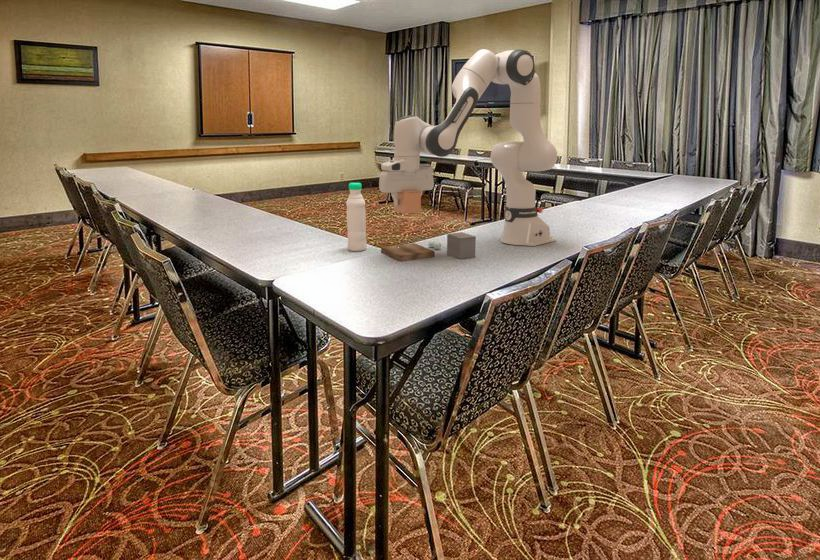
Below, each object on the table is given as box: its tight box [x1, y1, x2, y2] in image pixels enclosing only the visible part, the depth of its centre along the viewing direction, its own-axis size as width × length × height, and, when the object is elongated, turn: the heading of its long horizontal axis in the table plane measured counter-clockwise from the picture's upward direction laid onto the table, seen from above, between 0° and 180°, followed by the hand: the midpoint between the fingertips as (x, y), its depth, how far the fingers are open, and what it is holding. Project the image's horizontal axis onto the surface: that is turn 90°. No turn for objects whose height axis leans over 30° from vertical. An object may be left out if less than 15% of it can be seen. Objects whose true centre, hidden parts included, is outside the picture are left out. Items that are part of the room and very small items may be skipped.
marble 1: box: [428, 239, 437, 248], centre depth 199 cm, size 3×3×3 cm
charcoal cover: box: [446, 231, 477, 260], centre depth 186 cm, size 6×9×8 cm
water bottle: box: [345, 182, 368, 252], centre depth 193 cm, size 7×7×25 cm
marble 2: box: [433, 241, 442, 250], centre depth 196 cm, size 3×3×3 cm
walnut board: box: [380, 242, 436, 262], centre depth 188 cm, size 14×15×2 cm
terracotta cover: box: [393, 190, 422, 215], centre depth 183 cm, size 6×9×8 cm
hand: (407, 204), depth 183 cm, fingers closed on terracotta cover, 6 cm apart
